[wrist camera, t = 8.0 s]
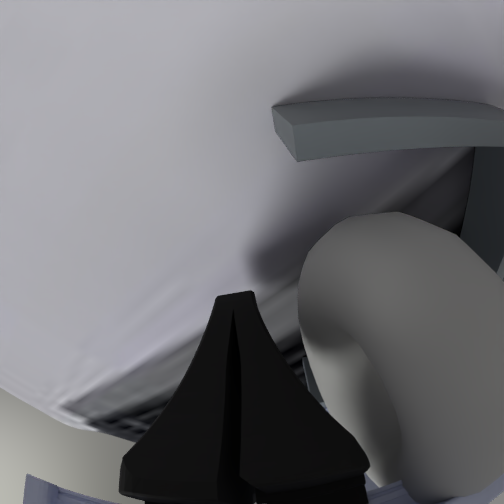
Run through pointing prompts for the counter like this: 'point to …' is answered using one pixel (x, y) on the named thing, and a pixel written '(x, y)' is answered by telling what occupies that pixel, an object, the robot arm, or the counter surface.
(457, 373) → the donut
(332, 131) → the bracket
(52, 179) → the counter surface
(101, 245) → the counter surface
